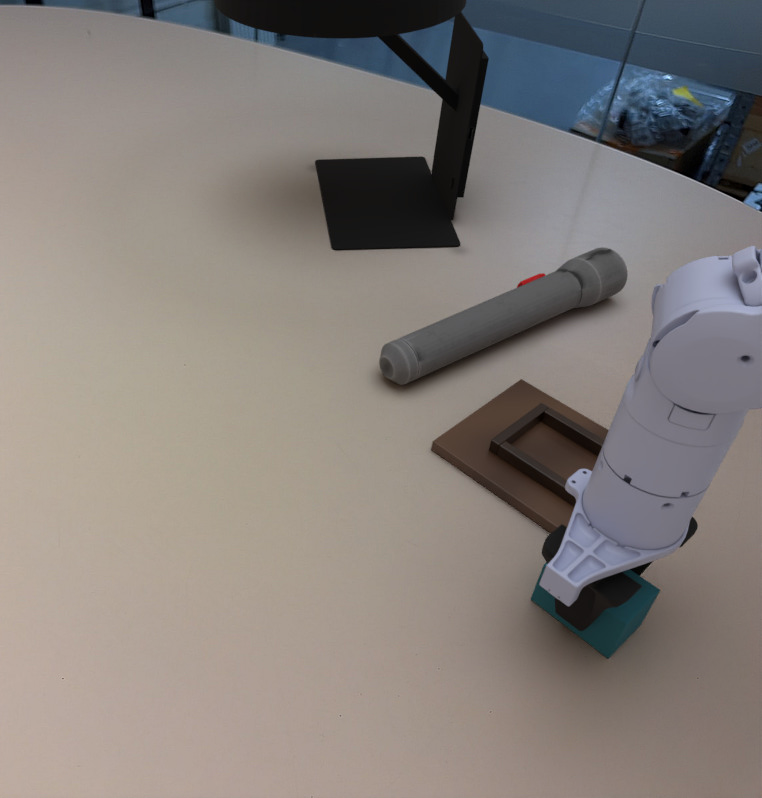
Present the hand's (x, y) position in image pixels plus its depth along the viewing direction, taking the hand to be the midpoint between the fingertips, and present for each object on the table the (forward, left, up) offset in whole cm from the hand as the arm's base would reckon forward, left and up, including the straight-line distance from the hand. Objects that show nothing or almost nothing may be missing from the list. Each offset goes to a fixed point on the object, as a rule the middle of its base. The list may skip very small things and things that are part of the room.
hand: (590, 599), depth 55 cm
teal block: (0, 0, -1) cm, 1 cm away
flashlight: (+23, -21, -2) cm, 31 cm away
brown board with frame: (+9, -10, -1) cm, 14 cm away
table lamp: (+52, -28, -2) cm, 59 cm away
